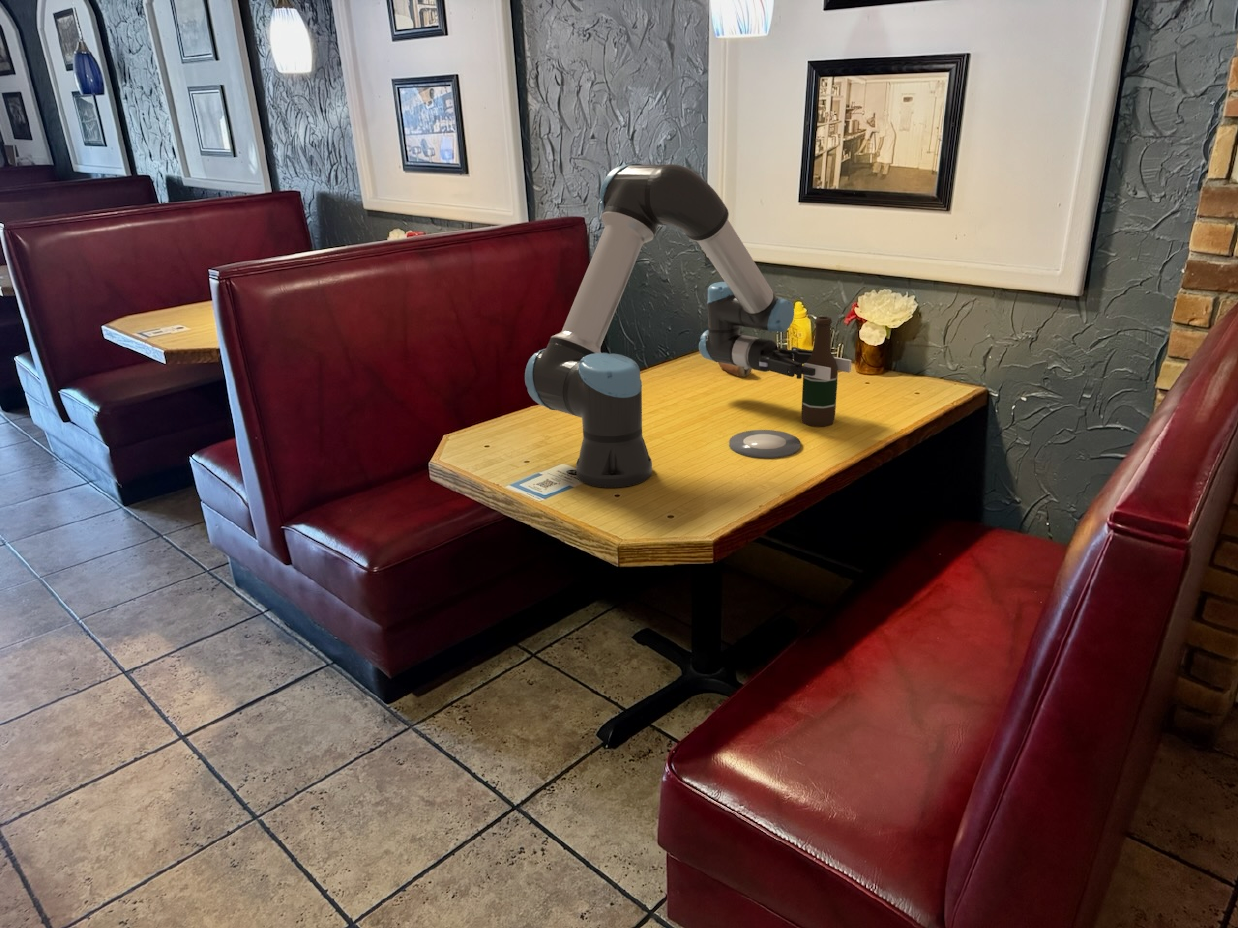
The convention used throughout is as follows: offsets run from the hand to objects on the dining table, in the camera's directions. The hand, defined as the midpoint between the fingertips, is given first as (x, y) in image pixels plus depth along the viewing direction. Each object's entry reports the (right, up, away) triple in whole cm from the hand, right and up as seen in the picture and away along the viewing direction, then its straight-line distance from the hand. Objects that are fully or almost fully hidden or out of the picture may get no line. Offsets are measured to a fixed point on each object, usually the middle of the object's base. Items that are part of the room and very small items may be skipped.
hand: (839, 370), depth 185 cm
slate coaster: (-17, -17, -5) cm, 24 cm away
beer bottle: (-3, -11, +8) cm, 14 cm away
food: (-16, +5, +49) cm, 52 cm away
